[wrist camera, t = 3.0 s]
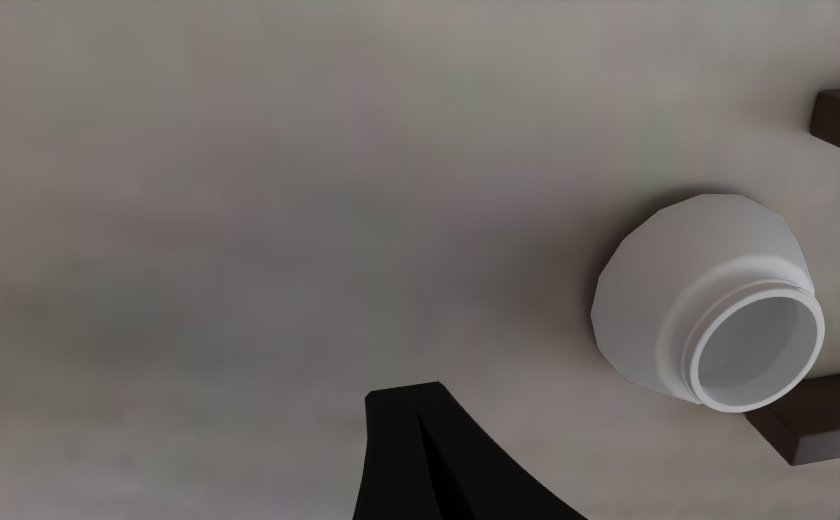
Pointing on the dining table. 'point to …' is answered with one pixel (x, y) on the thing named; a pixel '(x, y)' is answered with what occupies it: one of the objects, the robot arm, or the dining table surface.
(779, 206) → the dining table surface
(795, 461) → the frame
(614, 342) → the lidless jar
